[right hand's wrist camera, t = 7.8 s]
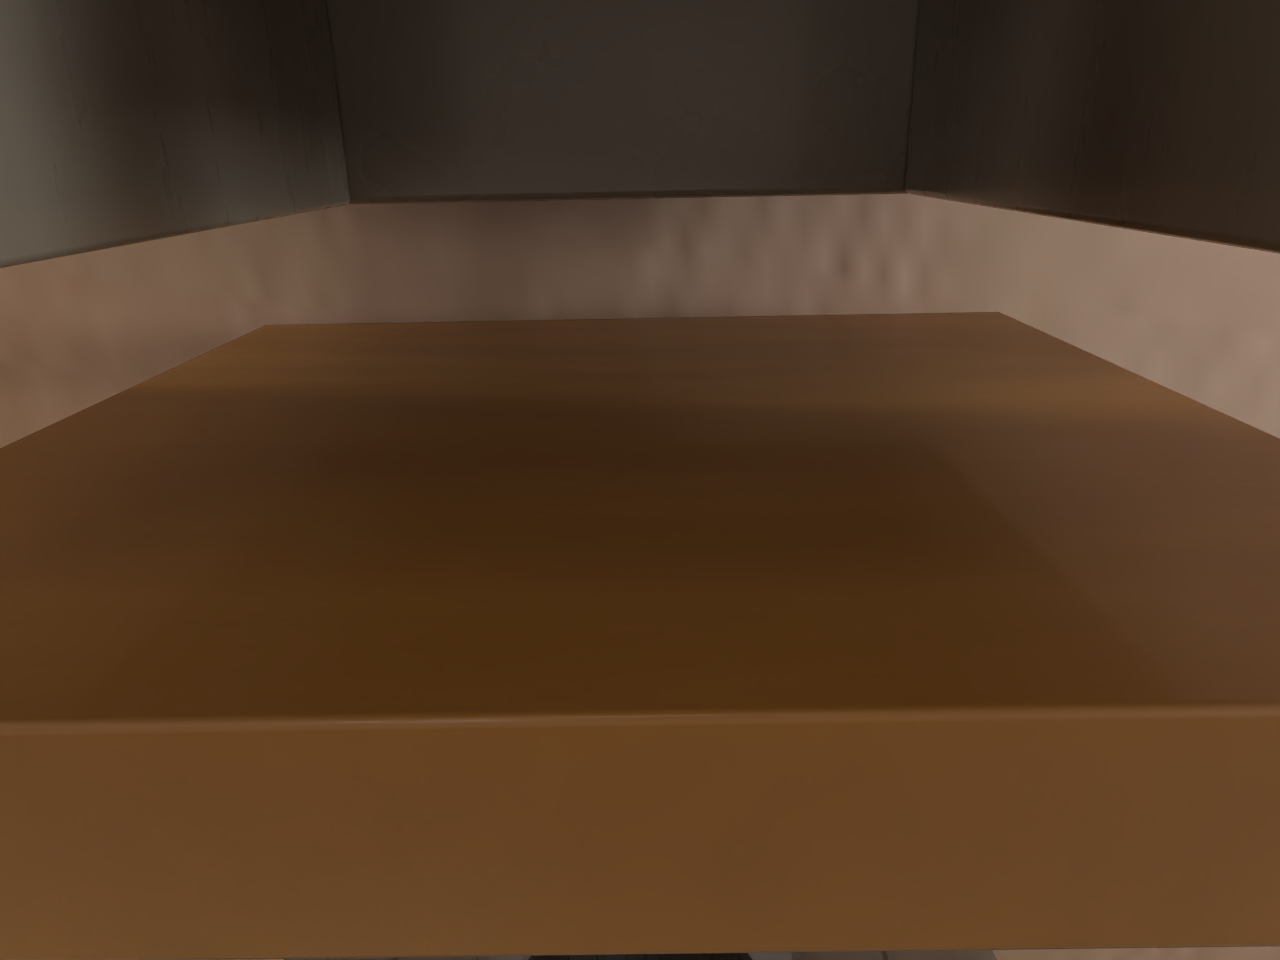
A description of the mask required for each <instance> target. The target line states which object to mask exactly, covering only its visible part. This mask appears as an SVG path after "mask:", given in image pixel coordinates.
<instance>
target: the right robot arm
mask: <svg viewBox="0 0 1280 960" xmlns="http://www.w3.org/2000/svg"><path fill="white" fill-rule="evenodd" d="M748 954H749V956H750V957H751V958H752V960H996V957H995V955H994V953H993V951H992V950H929V951H849V952H769V953H748ZM530 957H531V955H530V956H451V957H371V958H291V959H284V960H528V959H529V958H530Z"/></svg>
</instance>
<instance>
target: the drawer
mask: <svg viewBox="0 0 1280 960" xmlns="http://www.w3.org/2000/svg"><path fill="white" fill-rule="evenodd" d="M906 193H909V194H913V195H919V196H926V197H932V198H938V199H944V200H950V201H957V202H963V203H969V204H975V205H981V206H988V207H994V208H1000V209H1006V210H1013V211H1019V212H1025V213H1031V214H1037V215H1044V216H1050V217H1056V218H1062V219H1068V220H1075V221H1081V222H1087V223H1093V224H1100V225H1106V226H1112V227H1118V228H1124V229H1131V230H1137V231H1143V232H1149V233H1155V234H1162V235H1168V236H1174V237H1180V238H1187V239H1193V240H1199V241H1205V242H1211V243H1218V244H1224V245H1230V246H1236V247H1242V248H1249V249H1255V250H1261V251H1267V252H1273V253H1280V0H0V268H3V267H8V266H14V265H19V264H25V263H30V262H36V261H41V260H47V259H52V258H57V257H63V256H68V255H74V254H79V253H85V252H90V251H96V250H101V249H107V248H112V247H118V246H123V245H129V244H134V243H139V242H145V241H150V240H156V239H161V238H167V237H172V236H178V235H183V234H189V233H194V232H200V231H205V230H211V229H216V228H221V227H227V226H232V225H238V224H243V223H249V222H254V221H260V220H265V219H271V218H276V217H282V216H287V215H293V214H298V213H303V212H309V211H314V210H320V209H325V208H331V207H336V206H342V205H346V204H376V203H429V202H482V201H535V200H588V199H641V198H694V197H747V196H800V195H853V194H906ZM1247 946H1280V439H1279V438H1277V437H1274V436H1272V435H1270V434H1268V433H1266V432H1263V431H1261V430H1259V429H1257V428H1255V427H1252V426H1250V425H1248V424H1246V423H1243V422H1241V421H1239V420H1237V419H1235V418H1232V417H1230V416H1228V415H1226V414H1224V413H1221V412H1219V411H1217V410H1215V409H1212V408H1210V407H1208V406H1206V405H1204V404H1201V403H1199V402H1197V401H1195V400H1192V399H1190V398H1188V397H1186V396H1184V395H1181V394H1179V393H1177V392H1175V391H1173V390H1170V389H1168V388H1166V387H1164V386H1161V385H1159V384H1157V383H1155V382H1153V381H1150V380H1148V379H1146V378H1144V377H1142V376H1139V375H1137V374H1135V373H1133V372H1130V371H1128V370H1126V369H1124V368H1122V367H1119V366H1117V365H1115V364H1113V363H1110V362H1108V361H1106V360H1104V359H1102V358H1099V357H1097V356H1095V355H1093V354H1091V353H1088V352H1086V351H1084V350H1082V349H1079V348H1077V347H1075V346H1073V345H1071V344H1068V343H1066V342H1064V341H1062V340H1060V339H1057V338H1055V337H1053V336H1051V335H1048V334H1046V333H1044V332H1042V331H1040V330H1037V329H1035V328H1033V327H1031V326H1028V325H1026V324H1024V323H1022V322H1020V321H1017V320H1015V319H1013V318H1011V317H1009V316H1006V315H1004V314H1002V313H1000V312H972V313H916V314H861V315H805V316H749V317H693V318H637V319H581V320H525V321H469V322H413V323H357V324H301V325H265V326H263V327H261V328H259V329H256V330H254V331H252V332H250V333H248V334H246V335H244V336H241V337H239V338H237V339H235V340H233V341H231V342H228V343H226V344H224V345H222V346H220V347H218V348H216V349H213V350H211V351H209V352H207V353H205V354H203V355H201V356H198V357H196V358H194V359H192V360H190V361H188V362H185V363H183V364H181V365H179V366H177V367H175V368H173V369H170V370H168V371H166V372H164V373H162V374H160V375H157V376H155V377H153V378H151V379H149V380H147V381H145V382H142V383H140V384H138V385H136V386H134V387H132V388H129V389H127V390H125V391H123V392H121V393H119V394H117V395H114V396H112V397H110V398H108V399H106V400H104V401H102V402H99V403H97V404H95V405H93V406H91V407H89V408H86V409H84V410H82V411H80V412H78V413H76V414H74V415H71V416H69V417H67V418H65V419H63V420H61V421H58V422H56V423H54V424H52V425H50V426H48V427H46V428H43V429H41V430H39V431H37V432H35V433H33V434H30V435H28V436H26V437H24V438H22V439H20V440H18V441H15V442H13V443H11V444H9V445H7V446H5V447H3V448H0V960H211V959H291V958H371V957H451V956H530V955H531V957H530V958H529V959H528V960H752V958H751V957H750V956H749V954H748V953H769V952H849V951H929V950H1008V949H1088V948H1168V947H1247Z"/></svg>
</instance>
